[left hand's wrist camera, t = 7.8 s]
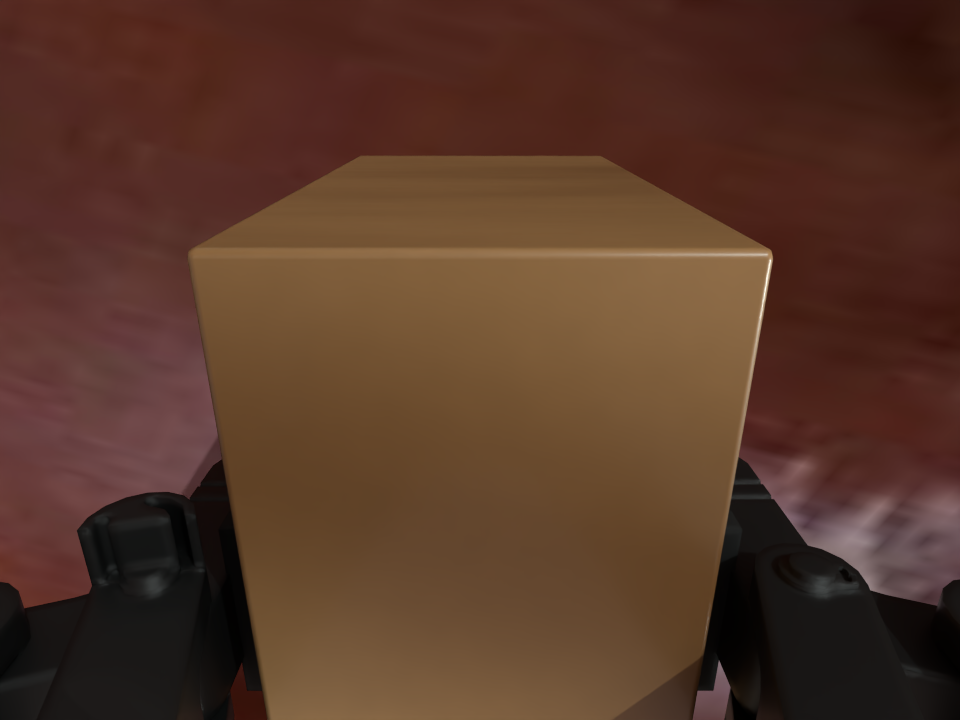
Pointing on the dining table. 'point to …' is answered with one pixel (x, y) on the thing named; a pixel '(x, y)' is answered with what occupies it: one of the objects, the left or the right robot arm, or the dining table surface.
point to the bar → (480, 435)
